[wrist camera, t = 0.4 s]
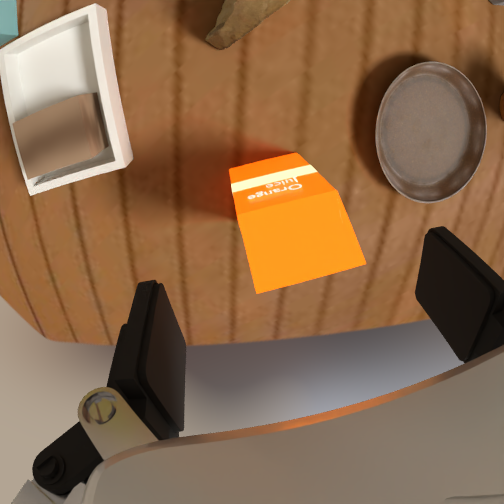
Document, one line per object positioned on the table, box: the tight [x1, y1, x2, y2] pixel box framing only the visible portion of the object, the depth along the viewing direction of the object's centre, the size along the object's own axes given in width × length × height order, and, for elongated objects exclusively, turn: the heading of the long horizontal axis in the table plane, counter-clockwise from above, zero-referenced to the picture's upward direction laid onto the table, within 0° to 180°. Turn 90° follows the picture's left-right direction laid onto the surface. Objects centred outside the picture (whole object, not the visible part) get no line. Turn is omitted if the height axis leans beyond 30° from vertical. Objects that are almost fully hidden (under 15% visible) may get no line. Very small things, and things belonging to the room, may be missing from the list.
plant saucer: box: [375, 62, 487, 203], centre depth 37 cm, size 21×21×3 cm
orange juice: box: [229, 153, 366, 294], centre depth 32 cm, size 8×9×20 cm
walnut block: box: [12, 92, 109, 180], centre depth 29 cm, size 7×9×6 cm
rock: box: [205, 0, 290, 50], centre depth 25 cm, size 11×9×10 cm
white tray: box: [0, 3, 134, 196], centre depth 29 cm, size 20×14×4 cm
